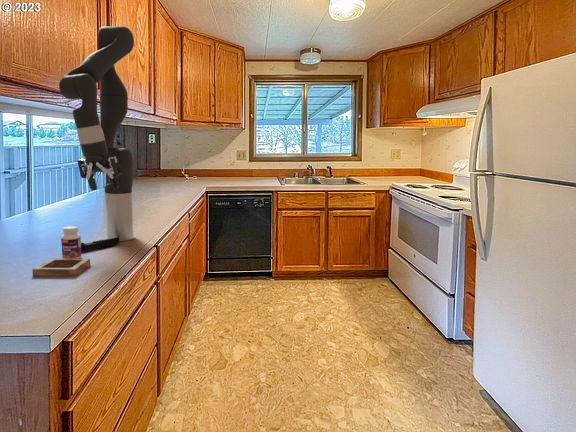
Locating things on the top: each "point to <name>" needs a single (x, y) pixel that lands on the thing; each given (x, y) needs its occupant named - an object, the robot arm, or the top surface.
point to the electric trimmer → (99, 244)
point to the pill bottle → (71, 243)
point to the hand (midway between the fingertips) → (105, 189)
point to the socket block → (48, 269)
